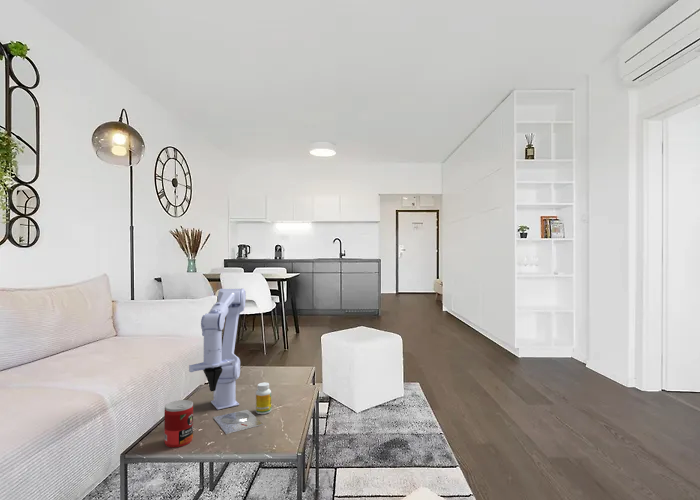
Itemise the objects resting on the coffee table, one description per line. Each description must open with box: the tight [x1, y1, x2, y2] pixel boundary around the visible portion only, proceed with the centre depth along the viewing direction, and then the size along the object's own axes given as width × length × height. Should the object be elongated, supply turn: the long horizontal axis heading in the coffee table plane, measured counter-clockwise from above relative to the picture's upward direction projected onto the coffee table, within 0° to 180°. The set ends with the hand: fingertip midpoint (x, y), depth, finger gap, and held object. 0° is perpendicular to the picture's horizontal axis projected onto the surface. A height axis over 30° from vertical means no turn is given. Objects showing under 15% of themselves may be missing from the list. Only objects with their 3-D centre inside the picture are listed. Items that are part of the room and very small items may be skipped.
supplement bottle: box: [255, 382, 272, 415], centre depth 136 cm, size 6×5×10 cm
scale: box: [212, 409, 264, 435], centre depth 128 cm, size 15×12×1 cm
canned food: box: [163, 399, 194, 448], centre depth 114 cm, size 8×8×11 cm
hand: (212, 390), depth 128 cm, fingers closed
